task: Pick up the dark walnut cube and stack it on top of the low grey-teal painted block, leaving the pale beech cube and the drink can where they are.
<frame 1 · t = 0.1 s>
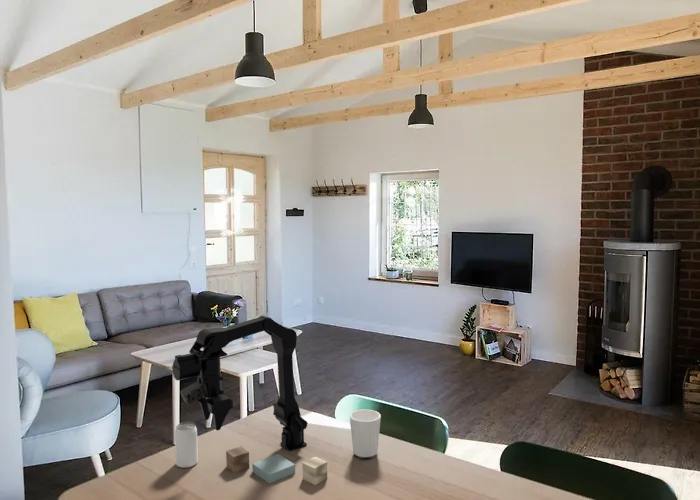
hand: (212, 424, 158), 14 cm above the table, tool pointing down, fingers open, 9 cm apart
beech cube: (315, 478, 155), on the table
cup: (365, 454, 170), on the table
can: (187, 464, 165), on the table
walnut cube: (237, 467, 162), on the table
base block: (273, 473, 159), on the table
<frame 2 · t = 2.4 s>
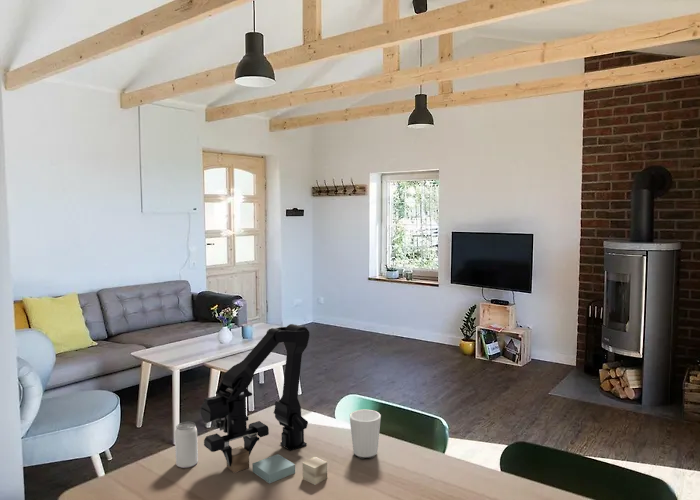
hand: (237, 463, 162), 1 cm above the table, tool pointing down, fingers closed on walnut cube, 5 cm apart
walnut cube: (238, 467, 162), on the table, touching gripper
everything else where it was.
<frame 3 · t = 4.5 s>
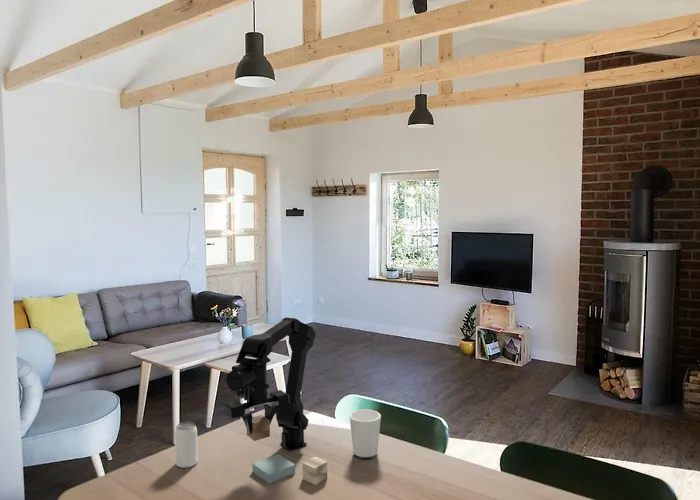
hand: (258, 431, 159), 12 cm above the table, tool pointing down, fingers closed on walnut cube, 5 cm apart
walnut cube: (258, 435, 159), point 11 cm above the table, touching gripper
everything else where it was.
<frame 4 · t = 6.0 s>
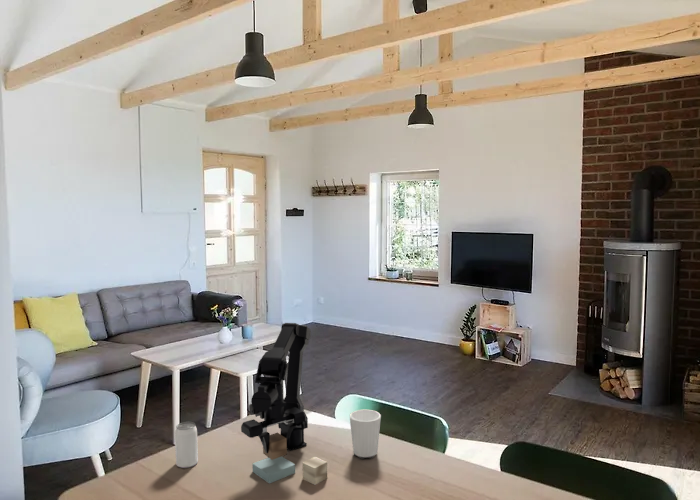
hand: (274, 449, 158), 7 cm above the table, tool pointing down, fingers closed on walnut cube, 5 cm apart
walnut cube: (274, 454, 158), point 6 cm above the table, touching gripper
everything else where it was.
when the fingers open (5 cm above the table, at t = 6.9 s): walnut cube drops 1 cm, resting on base block.
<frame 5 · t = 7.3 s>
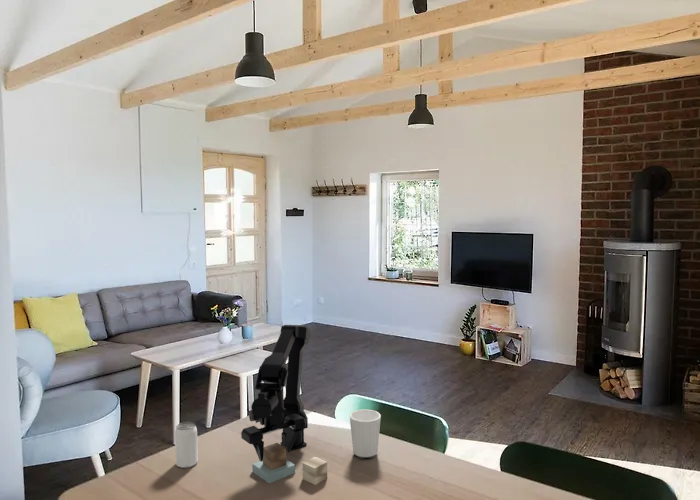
hand: (274, 456, 158), 5 cm above the table, tool pointing down, fingers open, 9 cm apart
walnut cube: (274, 464, 159), point 2 cm above the table, touching base block
base block: (273, 474, 159), on the table, touching walnut cube
everything else where it was.
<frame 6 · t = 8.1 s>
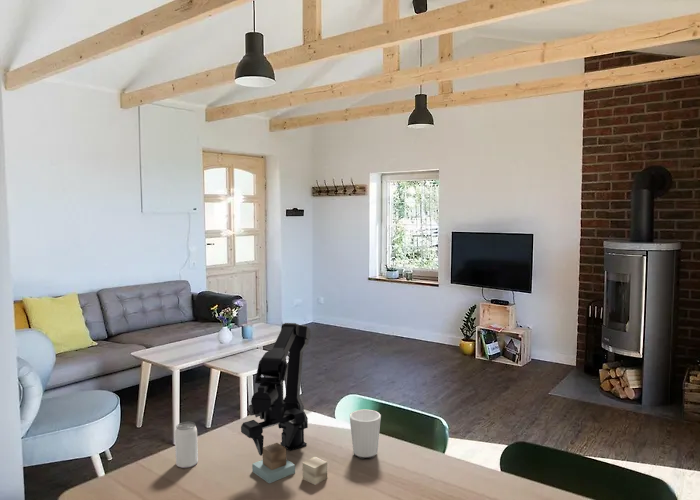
hand: (274, 450, 158), 7 cm above the table, tool pointing down, fingers open, 9 cm apart
nothing on the table moved.
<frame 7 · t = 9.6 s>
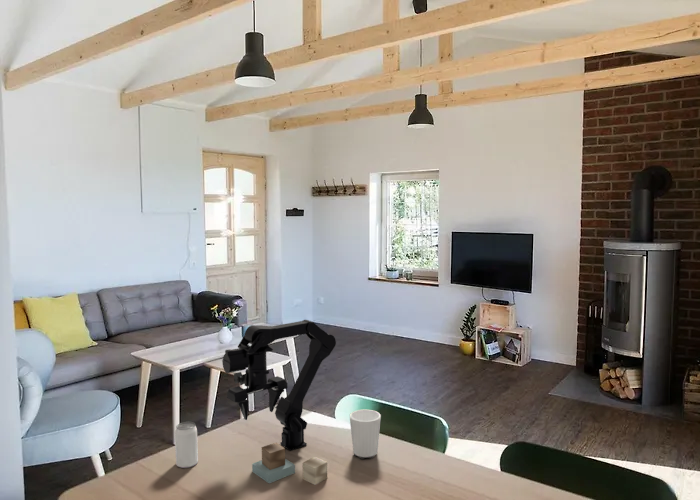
hand: (258, 415, 169), 13 cm above the table, tool pointing down, fingers open, 9 cm apart
walnut cube: (273, 464, 159), point 2 cm above the table
base block: (273, 473, 159), on the table
everything else where it was.
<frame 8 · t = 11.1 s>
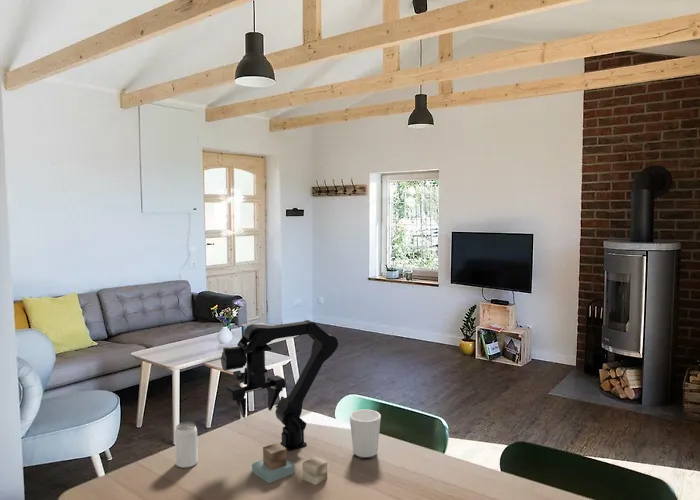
hand: (256, 413, 170), 13 cm above the table, tool pointing down, fingers open, 9 cm apart
walnut cube: (274, 464, 159), point 2 cm above the table, touching base block
base block: (273, 474, 159), on the table, touching walnut cube
everything else where it was.
at the end: walnut cube inside the target area on the base block (0.5 cm from its centre), point 3.0 cm above the base block's base; walnut cube tilted 1°; the gripper is holding nothing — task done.
